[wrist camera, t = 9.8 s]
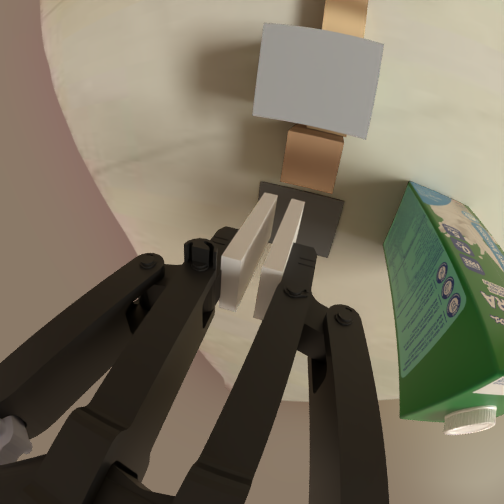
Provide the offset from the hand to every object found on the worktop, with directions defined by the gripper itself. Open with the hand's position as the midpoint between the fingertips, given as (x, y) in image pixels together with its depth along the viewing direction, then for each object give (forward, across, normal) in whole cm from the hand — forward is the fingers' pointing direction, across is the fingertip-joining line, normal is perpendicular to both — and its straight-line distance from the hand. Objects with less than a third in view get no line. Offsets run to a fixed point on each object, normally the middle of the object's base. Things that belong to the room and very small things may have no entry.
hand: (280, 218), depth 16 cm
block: (+17, +1, +1) cm, 17 cm away
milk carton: (+17, +16, -4) cm, 24 cm away
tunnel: (+17, 0, +8) cm, 19 cm away
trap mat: (+17, 0, -8) cm, 19 cm away
